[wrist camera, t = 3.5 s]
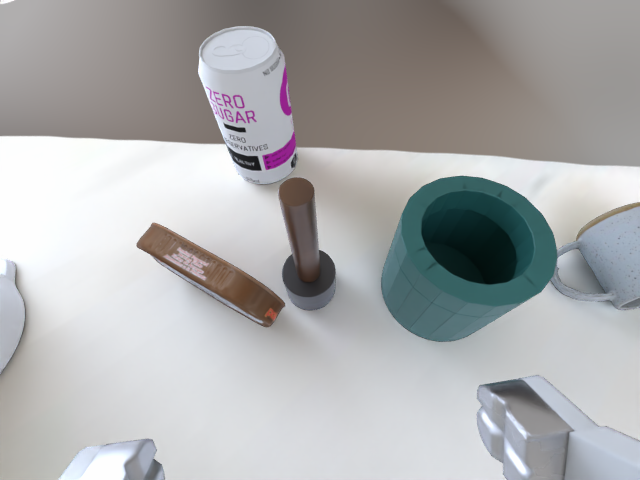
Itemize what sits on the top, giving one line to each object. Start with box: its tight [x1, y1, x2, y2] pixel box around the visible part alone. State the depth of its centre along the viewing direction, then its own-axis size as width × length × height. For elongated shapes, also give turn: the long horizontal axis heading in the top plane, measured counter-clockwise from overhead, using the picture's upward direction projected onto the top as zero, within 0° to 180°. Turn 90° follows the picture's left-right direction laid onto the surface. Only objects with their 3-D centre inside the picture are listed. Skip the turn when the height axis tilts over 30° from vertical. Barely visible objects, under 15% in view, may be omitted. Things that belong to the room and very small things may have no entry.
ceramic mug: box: [551, 202, 640, 310], centre depth 29 cm, size 11×8×8 cm
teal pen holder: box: [381, 176, 558, 342], centre depth 28 cm, size 11×11×11 cm
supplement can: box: [198, 26, 298, 184], centre depth 35 cm, size 8×8×15 cm
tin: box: [137, 223, 285, 327], centre depth 29 cm, size 15×3×8 cm, turn 60°
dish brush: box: [278, 178, 336, 310], centre depth 26 cm, size 5×5×16 cm
